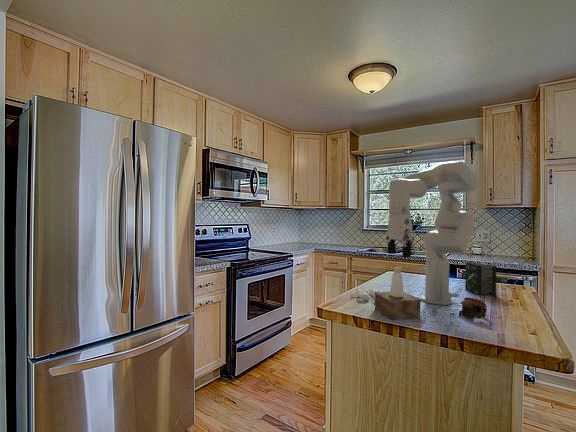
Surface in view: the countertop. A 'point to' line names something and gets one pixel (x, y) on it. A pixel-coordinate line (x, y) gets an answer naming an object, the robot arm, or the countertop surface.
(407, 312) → the walnut box
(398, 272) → the pepper shaker
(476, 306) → the dark brown rounded lump
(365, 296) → the tangled rod sculpture
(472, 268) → the tampon box
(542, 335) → the countertop surface
